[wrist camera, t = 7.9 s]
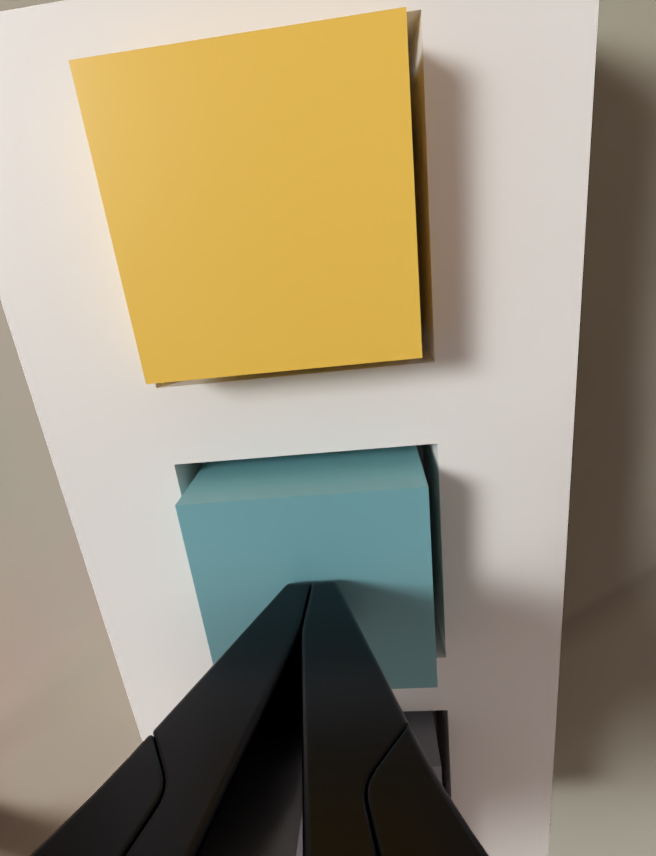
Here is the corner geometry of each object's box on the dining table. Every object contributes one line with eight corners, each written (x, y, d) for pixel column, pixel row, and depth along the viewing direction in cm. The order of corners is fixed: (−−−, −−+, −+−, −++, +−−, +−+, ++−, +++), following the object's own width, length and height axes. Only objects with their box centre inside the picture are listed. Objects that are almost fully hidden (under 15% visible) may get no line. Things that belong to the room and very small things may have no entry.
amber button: (388, 91, 9) (405, 6, 6) (402, 324, 10) (422, 358, 7) (166, 123, 9) (68, 59, 6) (207, 344, 10) (145, 384, 7)
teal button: (408, 419, 11) (428, 487, 8) (417, 576, 12) (437, 687, 9) (224, 434, 11) (175, 505, 8) (253, 585, 12) (220, 695, 9)
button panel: (524, 18, 9) (605, -92, 6) (510, 753, 15) (547, 872, 12) (44, 91, 10) (-88, 25, 7) (216, 760, 16) (184, 873, 13)
